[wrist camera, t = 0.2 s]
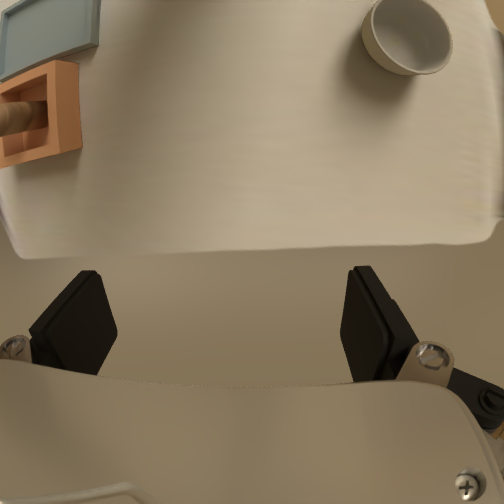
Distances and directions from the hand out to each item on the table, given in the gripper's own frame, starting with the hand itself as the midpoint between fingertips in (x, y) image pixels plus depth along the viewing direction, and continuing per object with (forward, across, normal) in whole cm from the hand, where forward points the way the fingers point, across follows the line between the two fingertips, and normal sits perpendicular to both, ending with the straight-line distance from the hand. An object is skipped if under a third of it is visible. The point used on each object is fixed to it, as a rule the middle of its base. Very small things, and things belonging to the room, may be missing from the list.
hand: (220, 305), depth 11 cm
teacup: (+31, -20, -20) cm, 42 cm away
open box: (+31, +30, -12) cm, 45 cm away
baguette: (+30, +30, -12) cm, 44 cm away
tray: (+31, +30, -27) cm, 51 cm away
